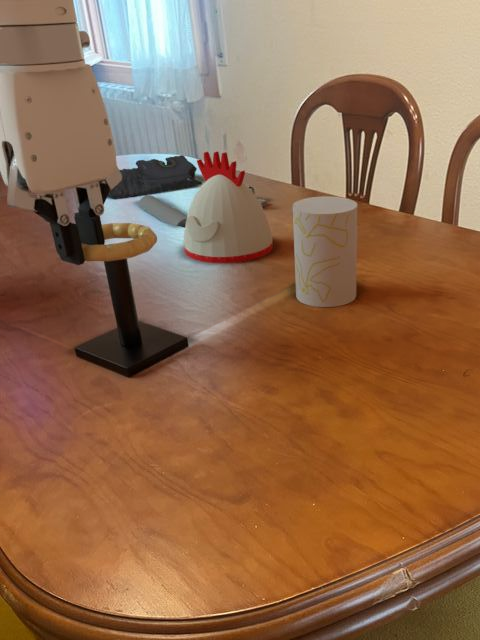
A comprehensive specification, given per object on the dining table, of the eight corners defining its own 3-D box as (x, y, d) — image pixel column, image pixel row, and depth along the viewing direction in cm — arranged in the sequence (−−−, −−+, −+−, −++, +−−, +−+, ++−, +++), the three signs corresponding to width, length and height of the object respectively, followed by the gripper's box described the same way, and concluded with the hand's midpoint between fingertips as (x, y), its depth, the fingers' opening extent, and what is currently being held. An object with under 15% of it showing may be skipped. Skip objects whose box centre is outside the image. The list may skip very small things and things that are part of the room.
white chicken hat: (221, 234, 112) (211, 140, 104) (289, 246, 106) (285, 147, 98) (167, 259, 102) (151, 157, 94) (239, 273, 96) (229, 166, 88)
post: (76, 356, 75) (52, 261, 69) (136, 328, 81) (120, 238, 75) (129, 378, 71) (108, 278, 65) (188, 346, 77) (175, 252, 71)
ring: (48, 253, 68) (44, 238, 67) (117, 231, 74) (114, 217, 74) (106, 269, 64) (103, 253, 63) (175, 244, 70) (173, 229, 69)
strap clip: (255, 202, 129) (254, 180, 127) (268, 204, 128) (266, 181, 125) (229, 213, 123) (226, 190, 121) (242, 215, 122) (240, 191, 119)
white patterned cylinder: (286, 302, 87) (282, 210, 80) (309, 281, 93) (307, 194, 87) (344, 310, 85) (344, 216, 78) (364, 288, 91) (365, 199, 84)
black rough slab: (85, 185, 143) (81, 162, 140) (181, 172, 152) (178, 150, 150) (105, 201, 132) (101, 176, 129) (207, 185, 141) (205, 162, 139)
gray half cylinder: (158, 202, 130) (157, 193, 129) (198, 226, 116) (197, 216, 115) (138, 206, 128) (136, 197, 127) (175, 231, 114) (174, 220, 113)
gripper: (85, 42, 64) (120, 232, 74) (-77, 55, 53) (-9, 275, 63) (137, 44, 60) (167, 243, 70) (-26, 58, 49) (38, 290, 59)
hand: (83, 256), depth 67 cm, fingers closed on ring, 2 cm apart
